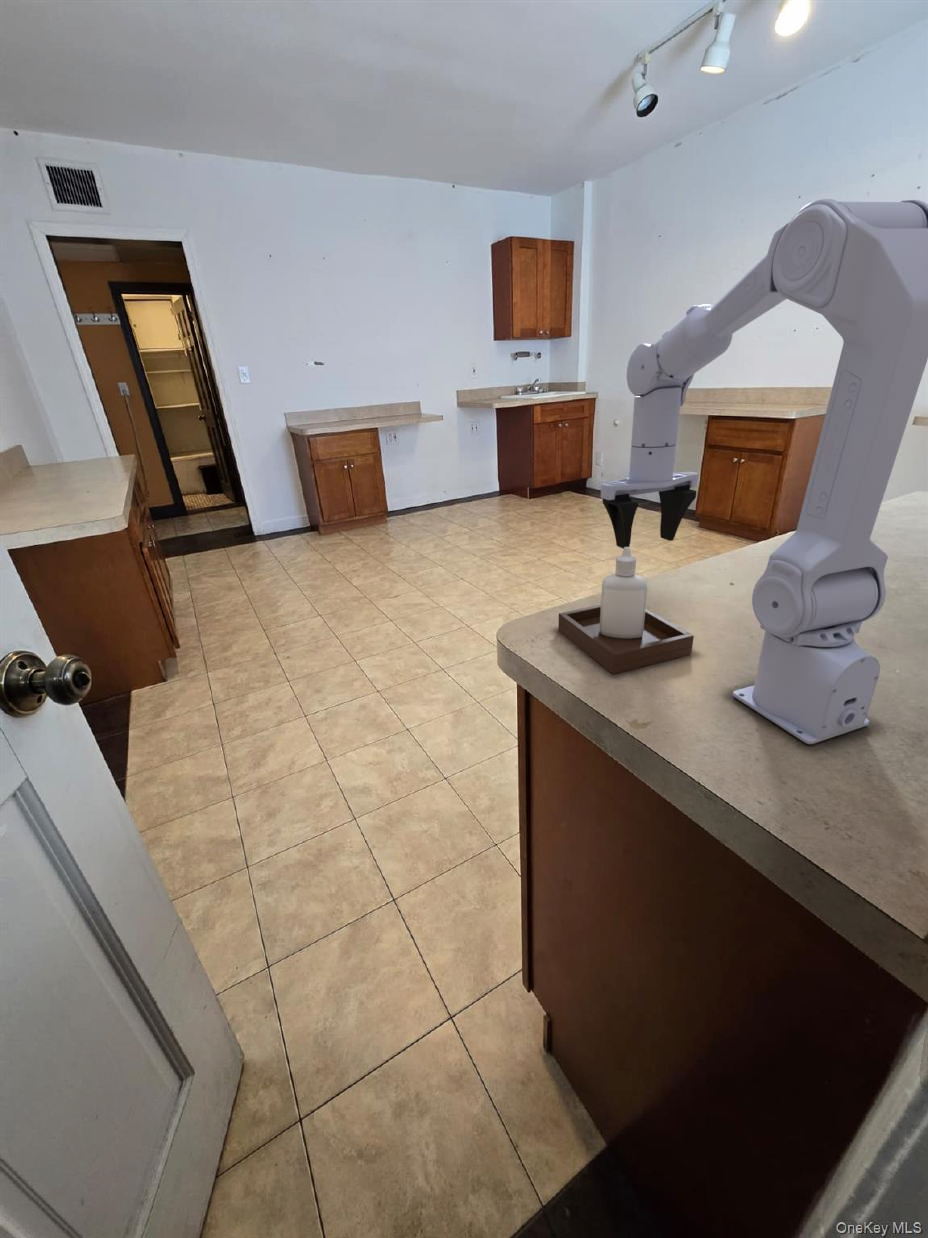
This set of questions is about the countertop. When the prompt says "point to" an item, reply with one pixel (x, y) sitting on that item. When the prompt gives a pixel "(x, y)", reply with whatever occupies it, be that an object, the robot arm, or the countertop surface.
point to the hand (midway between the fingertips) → (645, 542)
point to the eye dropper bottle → (623, 600)
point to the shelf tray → (625, 640)
